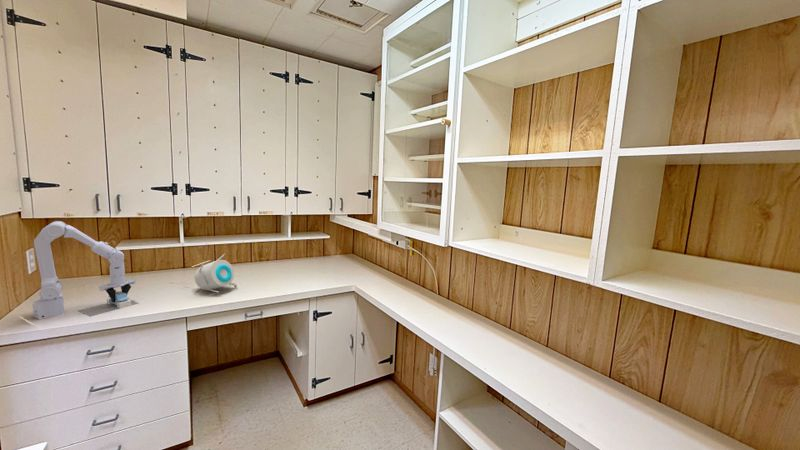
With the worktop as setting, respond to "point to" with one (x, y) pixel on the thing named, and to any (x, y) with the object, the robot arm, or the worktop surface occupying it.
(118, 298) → the block
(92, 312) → the plate
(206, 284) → the satellite
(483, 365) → the worktop surface
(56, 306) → the robot arm
